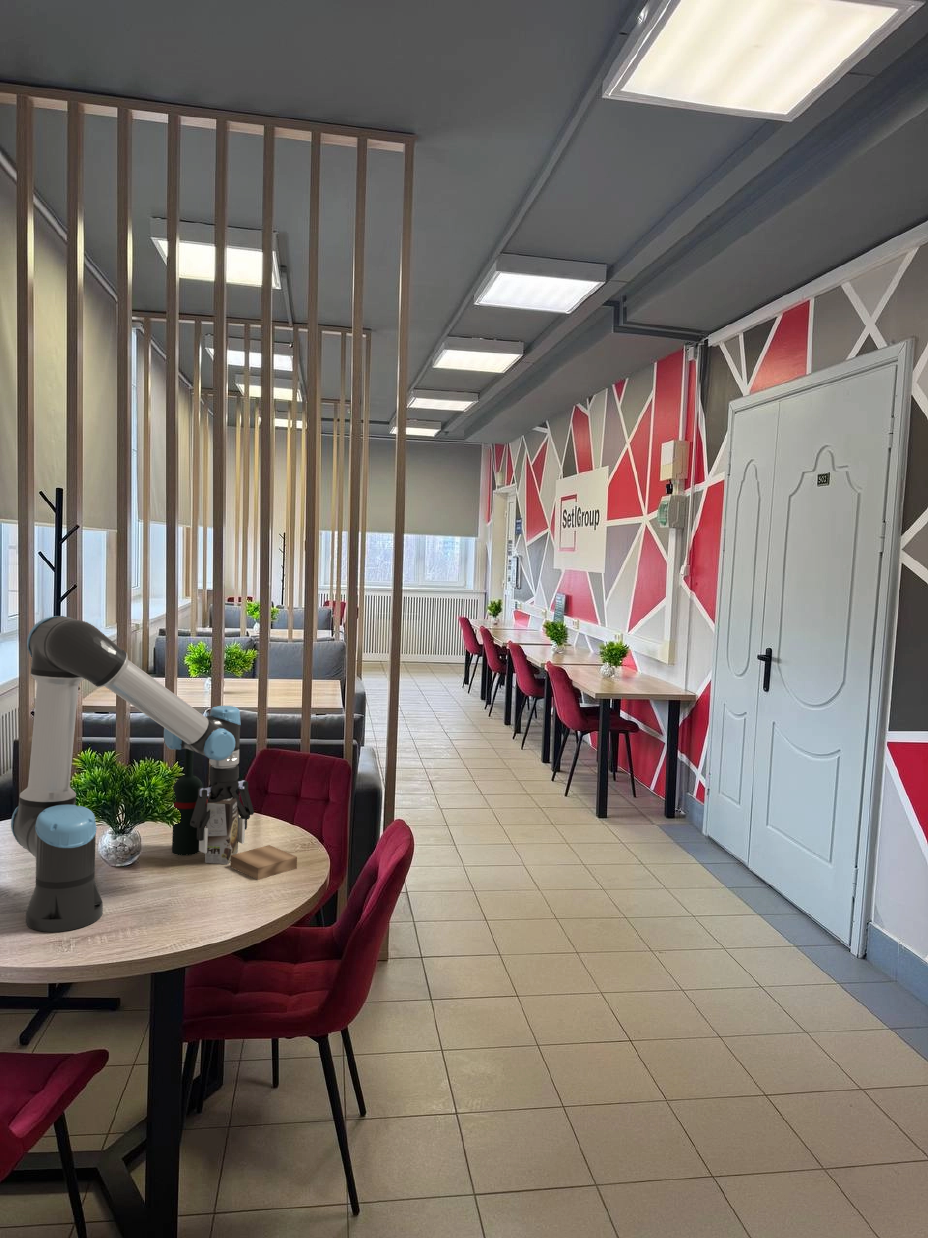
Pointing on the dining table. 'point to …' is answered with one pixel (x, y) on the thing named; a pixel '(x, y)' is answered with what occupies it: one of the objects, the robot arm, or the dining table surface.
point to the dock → (263, 862)
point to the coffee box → (222, 831)
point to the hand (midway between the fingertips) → (222, 847)
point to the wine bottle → (186, 810)
